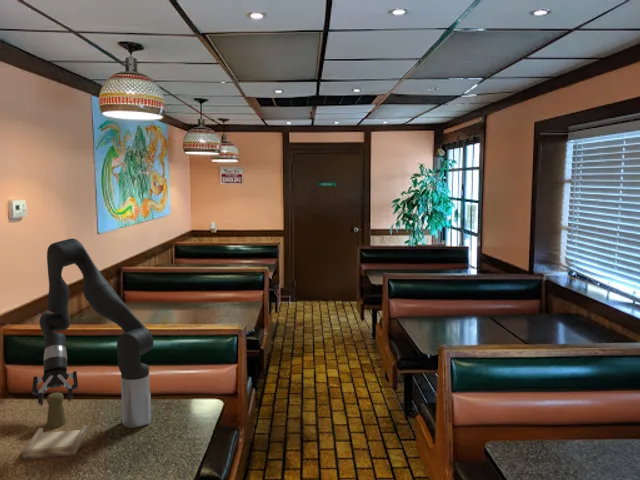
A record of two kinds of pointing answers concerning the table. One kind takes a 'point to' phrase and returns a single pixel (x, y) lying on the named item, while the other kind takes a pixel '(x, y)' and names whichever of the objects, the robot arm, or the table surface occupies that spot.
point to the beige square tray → (54, 443)
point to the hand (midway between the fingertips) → (55, 402)
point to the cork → (55, 410)
